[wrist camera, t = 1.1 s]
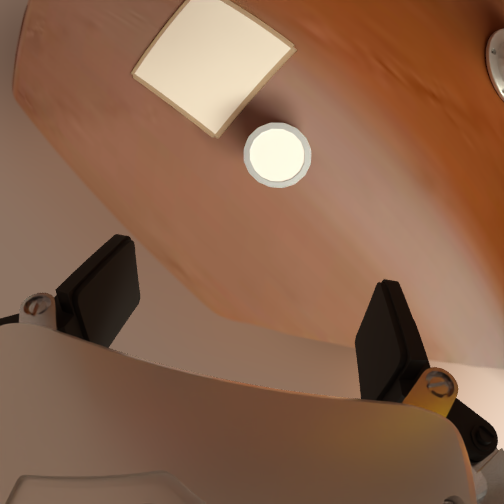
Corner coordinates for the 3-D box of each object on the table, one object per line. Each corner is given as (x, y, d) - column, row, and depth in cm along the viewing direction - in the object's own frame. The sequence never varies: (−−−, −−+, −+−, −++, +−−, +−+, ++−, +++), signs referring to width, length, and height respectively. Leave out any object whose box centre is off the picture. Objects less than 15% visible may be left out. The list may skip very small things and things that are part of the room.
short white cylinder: (288, 183, 38) (285, 201, 32) (242, 152, 37) (230, 163, 31) (321, 140, 35) (325, 149, 29) (273, 107, 34) (267, 108, 28)
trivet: (201, -15, 27) (200, -16, 26) (298, 49, 30) (298, 47, 29) (132, 75, 33) (129, 75, 33) (217, 140, 37) (216, 141, 36)
